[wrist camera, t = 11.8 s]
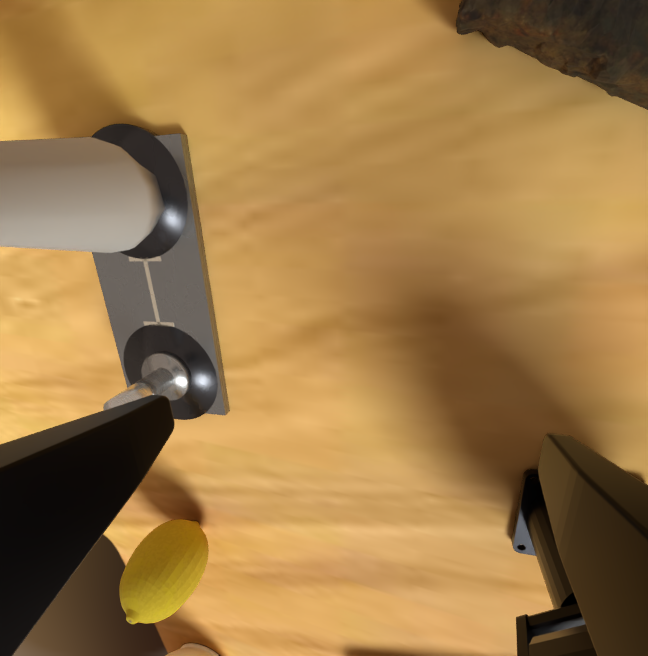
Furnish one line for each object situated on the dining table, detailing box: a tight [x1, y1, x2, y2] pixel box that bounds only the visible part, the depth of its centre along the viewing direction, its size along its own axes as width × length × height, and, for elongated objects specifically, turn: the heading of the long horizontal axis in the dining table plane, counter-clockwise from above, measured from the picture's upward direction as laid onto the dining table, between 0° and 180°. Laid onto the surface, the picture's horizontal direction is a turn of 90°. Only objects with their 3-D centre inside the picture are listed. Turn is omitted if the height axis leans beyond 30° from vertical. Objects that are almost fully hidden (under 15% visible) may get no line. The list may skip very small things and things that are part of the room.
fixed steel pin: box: [104, 351, 192, 410], centre depth 23 cm, size 4×4×5 cm
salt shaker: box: [0, 137, 165, 253], centre depth 15 cm, size 6×6×13 cm
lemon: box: [119, 519, 208, 624], centre depth 27 cm, size 6×6×8 cm
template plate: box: [92, 124, 230, 420], centre depth 24 cm, size 20×8×1 cm, turn 3°
